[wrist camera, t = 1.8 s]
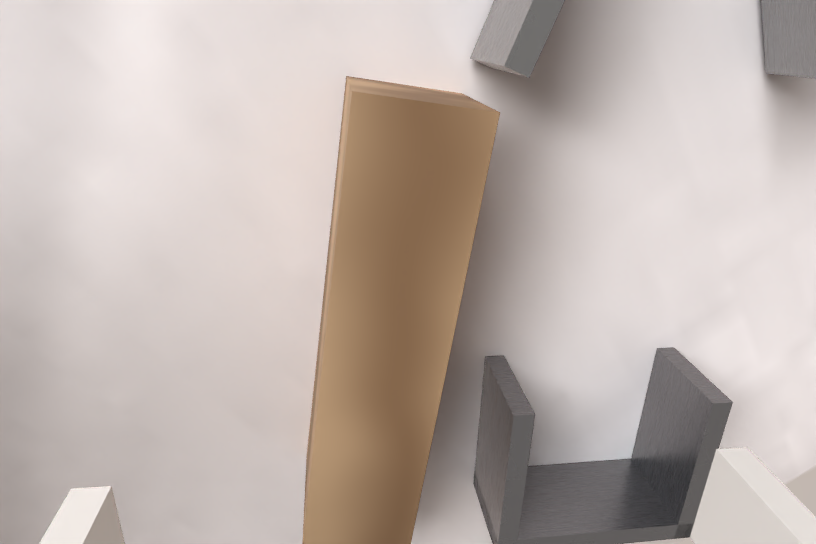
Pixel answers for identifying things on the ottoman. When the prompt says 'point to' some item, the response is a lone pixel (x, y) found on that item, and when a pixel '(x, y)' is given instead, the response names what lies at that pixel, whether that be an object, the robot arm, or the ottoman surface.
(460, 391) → the ottoman surface
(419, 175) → the slat
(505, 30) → the cap
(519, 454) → the cap
